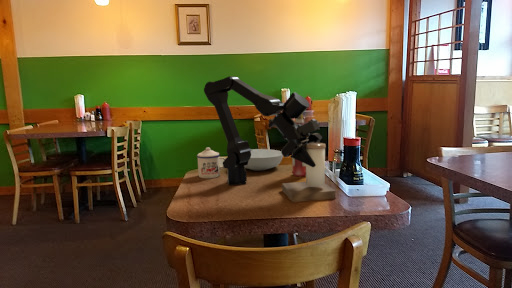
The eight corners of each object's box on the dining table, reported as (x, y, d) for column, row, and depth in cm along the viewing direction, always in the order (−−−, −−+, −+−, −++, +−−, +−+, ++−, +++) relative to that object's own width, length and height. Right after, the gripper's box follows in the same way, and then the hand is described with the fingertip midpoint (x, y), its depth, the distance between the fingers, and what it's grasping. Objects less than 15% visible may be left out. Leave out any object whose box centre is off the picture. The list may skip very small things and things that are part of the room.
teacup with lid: (199, 179, 145) (198, 150, 143) (196, 174, 153) (195, 146, 151) (229, 176, 148) (228, 148, 146) (225, 171, 157) (223, 144, 155)
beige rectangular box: (292, 202, 114) (292, 194, 113) (282, 190, 126) (282, 183, 126) (335, 198, 116) (335, 190, 116) (321, 187, 129) (321, 180, 128)
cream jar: (316, 187, 115) (316, 146, 113) (301, 183, 120) (301, 144, 118) (329, 184, 119) (329, 144, 117) (314, 180, 124) (314, 142, 121)
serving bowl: (277, 174, 149) (277, 158, 148) (228, 172, 155) (228, 156, 154) (287, 163, 169) (287, 149, 168) (244, 162, 175) (243, 148, 174)
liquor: (293, 172, 151) (292, 104, 147) (311, 173, 149) (311, 104, 144) (288, 177, 144) (287, 105, 140) (307, 178, 142) (306, 105, 137)
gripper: (289, 113, 110) (323, 153, 106) (316, 109, 125) (347, 143, 121) (267, 138, 116) (299, 176, 111) (296, 131, 131) (325, 164, 126)
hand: (319, 164), depth 117 cm, fingers closed on cream jar, 6 cm apart
